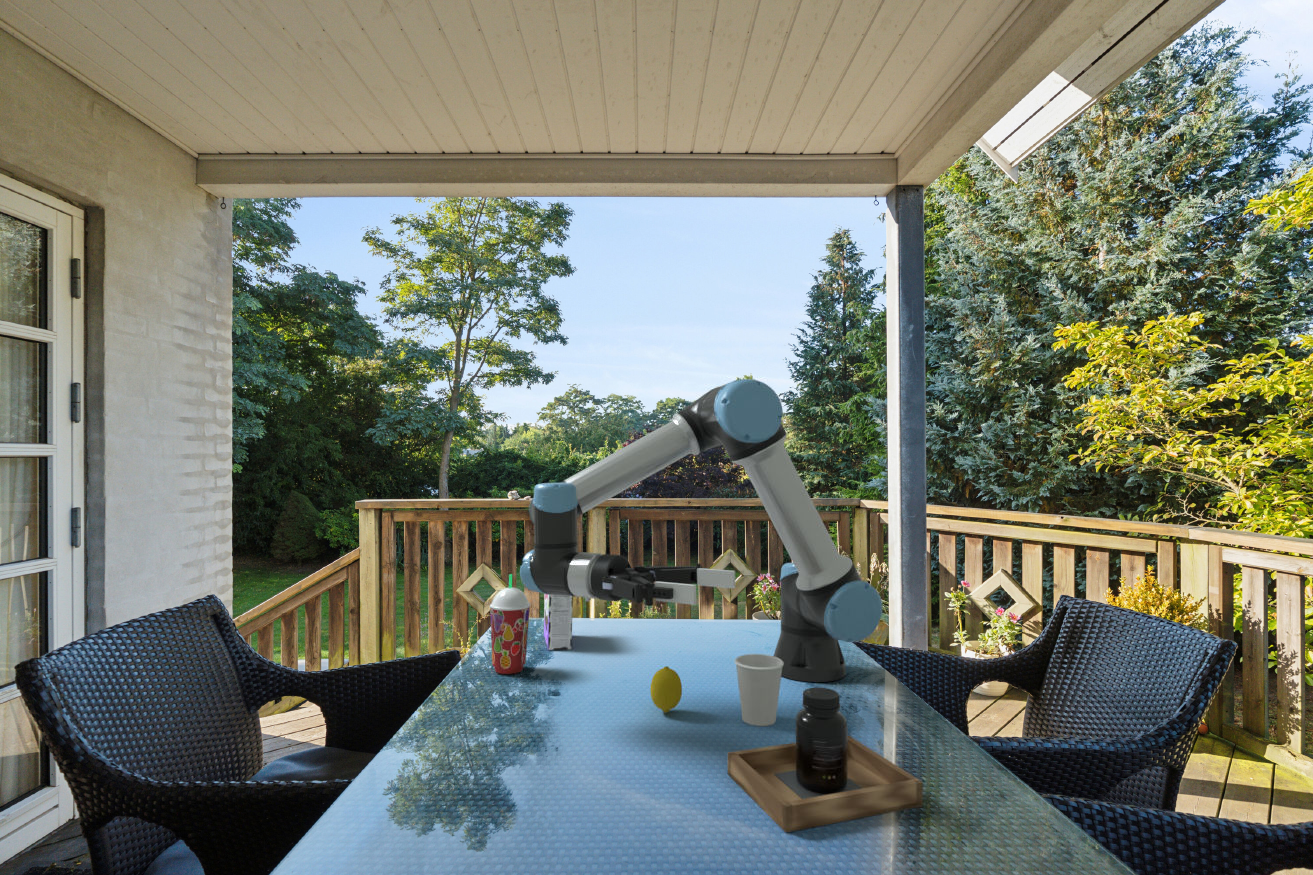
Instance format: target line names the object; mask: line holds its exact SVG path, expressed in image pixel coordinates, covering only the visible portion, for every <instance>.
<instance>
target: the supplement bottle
mask: <svg viewBox="0 0 1313 875" xmlns="http://www.w3.org/2000/svg"><path fill="white" fill-rule="evenodd" d="M802 707H803V708H802V709H801V710H799V712H798V713H797V714H796V716H795V743H796V779H797V781H798V782H799V784H800V785H801V786H803V787H804V788H806V789H808V790H810V791H813V792H817V793H836V792H839V791H841V790H843V789H844V788H845V787H846V785H847V774H848V772H847V735H848V721H847V719H846V717H845V716H844V714H843V713H842V712H841V711H840V710H841V703H840V694H839V692H837V691H835V690H833V689H830V688H826V687H818V686H817V687H808V688H806V689H804V690H803V693H802Z"/></svg>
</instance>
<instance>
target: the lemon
mask: <svg viewBox="0 0 1313 875" xmlns="http://www.w3.org/2000/svg"><path fill="white" fill-rule="evenodd" d="M682 687H683V686H682V680H681V677H680V675H679V674H678V673H677V672H676V670H674V669H672V668H670V667H669V666H666V665H665V666H664V667H662V668H660V669H659V670H657V671H656V672H655V673H654V675H653V677H652V680H651V682H650V690H649V691H650V697H651V700H652V703H653V705H655V707H657V708H658V709H660V710H661V711H663V713H666V714H667V713H669V712H670V711H671V710H673V709H674V708H676V707H677V706H678V704H680V701H681V699H682V695H683V688H682Z"/></svg>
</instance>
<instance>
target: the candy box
mask: <svg viewBox="0 0 1313 875" xmlns="http://www.w3.org/2000/svg"><path fill="white" fill-rule="evenodd" d="M543 594H544V593H543ZM543 596H544V598H543V599H544V602H543V603H544V604H543V605H544V606H543V607H544V608H543V611H544V612H543V614H544V615H543V616H544V618H543V638H544V641H545V645H546V647H547V650H548V651H560V650H561V651H564V650H565V651H567V650H568V651H569V650H572V647H573V645H572V643H573V606H574V605H573V604H574V602H573V601H574V596H565V595H552V594H550V595H547V594H544V595H543Z"/></svg>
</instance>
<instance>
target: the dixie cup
mask: <svg viewBox="0 0 1313 875" xmlns="http://www.w3.org/2000/svg"><path fill="white" fill-rule="evenodd" d="M734 663H735V667H736V673H737V674H736V675H737V683H738V685H737V686H738V691H739V693H738V694H739V702H740V710H741V717H742V718H741V720H742V721H743V722H744V723H746V724H747V725H750V726H755V725H756V726H757V727H767V726H772V725H774V724H775V723H776V720H777V714H778V706H779V705H778V704H779V698H780V697H779V696H780V687H781V681H782V676H781V673H782V666H783V665H784V662H783V661H782V660H781V659H779V658H777V657H774V656H773V655H770V654H769V655H768V654H758V653H750V654H749V653H747V654H743V655H740V656H737V657H736V658H735V659H734Z"/></svg>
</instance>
